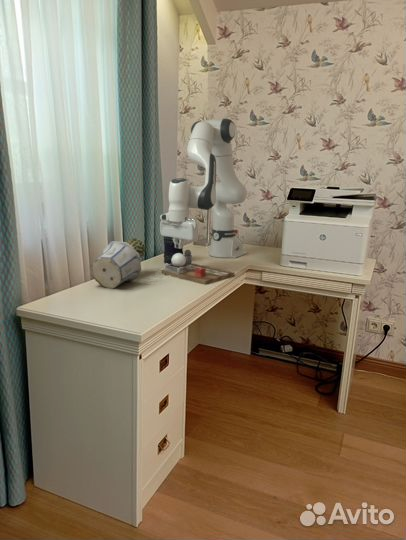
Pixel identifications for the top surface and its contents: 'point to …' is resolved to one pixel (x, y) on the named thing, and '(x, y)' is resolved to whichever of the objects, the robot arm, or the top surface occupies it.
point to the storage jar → (170, 249)
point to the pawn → (188, 257)
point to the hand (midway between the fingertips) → (178, 248)
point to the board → (201, 279)
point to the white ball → (178, 260)
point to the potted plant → (118, 263)
